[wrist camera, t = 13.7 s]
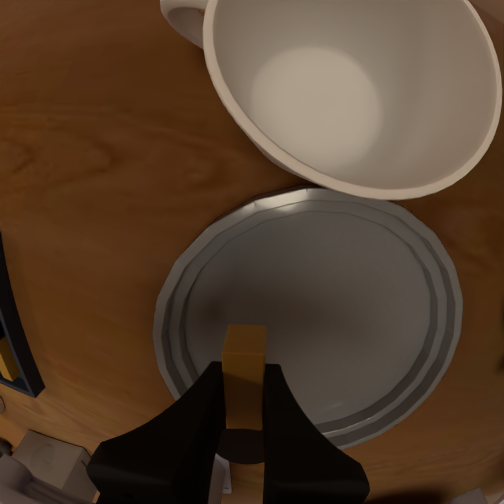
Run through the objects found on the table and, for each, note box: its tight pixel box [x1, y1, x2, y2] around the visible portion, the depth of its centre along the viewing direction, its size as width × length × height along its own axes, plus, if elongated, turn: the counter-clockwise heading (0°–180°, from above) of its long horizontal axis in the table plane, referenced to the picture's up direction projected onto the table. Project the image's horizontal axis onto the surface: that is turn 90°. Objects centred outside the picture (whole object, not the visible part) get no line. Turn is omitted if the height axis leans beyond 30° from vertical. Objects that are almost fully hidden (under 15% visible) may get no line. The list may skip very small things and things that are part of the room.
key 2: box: [216, 324, 266, 464], centre depth 13 cm, size 7×3×2 cm, turn 0°
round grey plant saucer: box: [152, 185, 463, 450], centre depth 18 cm, size 19×19×3 cm
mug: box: [160, 0, 502, 200], centre depth 10 cm, size 12×8×10 cm
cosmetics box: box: [11, 430, 97, 502], centre depth 22 cm, size 10×6×10 cm, turn 96°
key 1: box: [0, 320, 21, 381], centre depth 20 cm, size 7×3×2 cm, turn 0°
